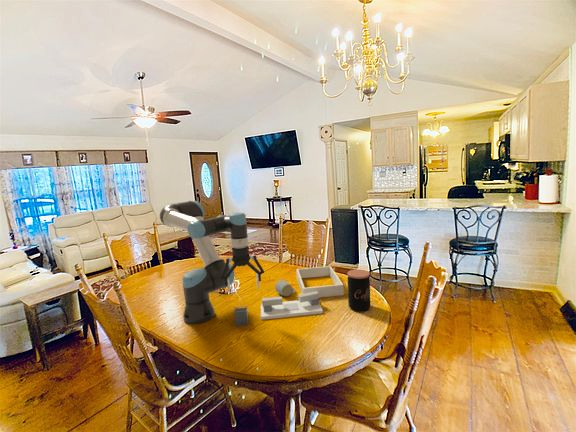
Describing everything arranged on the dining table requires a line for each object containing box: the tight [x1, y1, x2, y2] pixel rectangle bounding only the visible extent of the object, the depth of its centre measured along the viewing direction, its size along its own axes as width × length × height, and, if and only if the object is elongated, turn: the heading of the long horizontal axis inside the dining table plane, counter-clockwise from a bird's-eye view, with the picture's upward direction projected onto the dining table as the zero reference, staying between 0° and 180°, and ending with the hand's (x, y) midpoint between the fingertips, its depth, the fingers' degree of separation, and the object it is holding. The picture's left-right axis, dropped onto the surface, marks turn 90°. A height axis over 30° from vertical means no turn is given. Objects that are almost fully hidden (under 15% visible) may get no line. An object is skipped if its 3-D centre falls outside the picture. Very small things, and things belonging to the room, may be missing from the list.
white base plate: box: [260, 291, 324, 321], centre depth 159 cm, size 30×14×7 cm, turn 95°
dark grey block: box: [234, 305, 249, 327], centre depth 149 cm, size 6×6×8 cm
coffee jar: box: [346, 268, 371, 313], centre depth 155 cm, size 11×11×18 cm
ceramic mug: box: [275, 279, 297, 298], centre depth 178 cm, size 11×8×8 cm
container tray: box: [296, 265, 345, 299], centre depth 187 cm, size 22×32×6 cm
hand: (243, 289), depth 150 cm, fingers open, 13 cm apart
